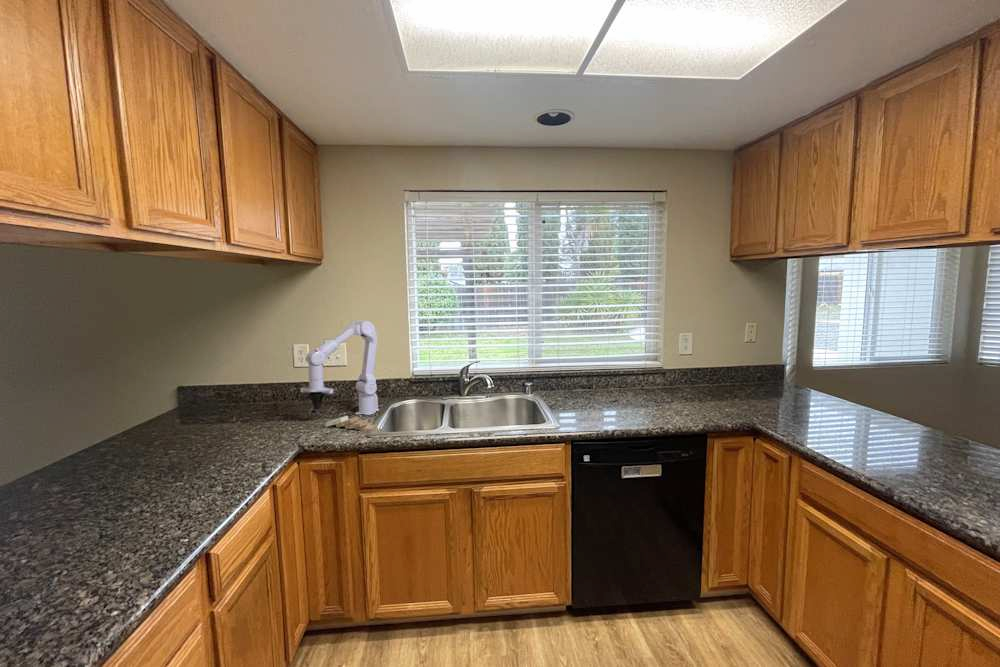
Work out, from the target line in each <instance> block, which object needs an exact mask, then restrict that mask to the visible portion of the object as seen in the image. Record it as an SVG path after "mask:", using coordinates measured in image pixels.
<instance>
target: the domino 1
mask: <svg viewBox="0 0 1000 667" xmlns="http://www.w3.org/2000/svg"><path fill="white" fill-rule="evenodd" d="M347 419H349V416H348V415H345V416H341V417H337V418H334V419H331V420H329V421H327V422H325V423H324V424H325V427H326V428H328V427H331V426H335V425H336V424H338V423H341V422H343V421H345V420H347Z"/></svg>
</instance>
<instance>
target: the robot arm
mask: <svg viewBox="0 0 1000 667" xmlns="http://www.w3.org/2000/svg"><path fill="white" fill-rule="evenodd" d="M375 329H376V326H375V325H374V324H373V323H372V322H371V321H366V320H359V319H357V320H355V321H354V322H353V323H352V322H351V323H350V324H349V325H348V326H347V327H346V328H345V329H344V330H343V331H342V332H340V333H339V334H338V335H337V336H335V337H334V338H333V339H327V340H326V339H325V340H324V341H323V342H322V344H320V345H319V346H318V347H315V348H314V350H311V351H309V352H308V353H307V354H306V357H305V361H306V362H307V364H308V386H309V387H308V386H302V387H301V388H299V389H300V393H309V394H308V395H307V396H308V397H309V399H310V400H311V402H312V404H313V405H312V406H313V408H314V410H316V411H319V410H320V409H321V407H322V402H323V399H324V397H325V395H326V394H329V395H332V394H334V388H330V387H325V386H324V368H323V367H324V366H323V364H324V362H325V361H326V359H327V358H328V357H329V356H331V355H332V354H333V353H335V352H336V351H337V350H338V347H339V346H340V345H341V344H342V343H344V342H345V341H346V340H348V339H349V338H351V337H352V336H360V337H361V338H362V339H363V340H364V342H365V343H364V350H363V351H364V352H363V358H362V368H361V374H360V375H359V376H358V380H357V382H356V383H355V388H356V390H357V391H358V411H356V412H355V415H361V414H365V416H371V414H372V415H373V414H375V413H376V411H377V412H378V411H380V410H379V409H380V408H379V397H378V395H377V393H376V392H377V390H378V388H377V387H378V386H377V379H376V377H375V375H374V374H375V373H374V372H375V366H376V365H375V364H376V356H377V349H378V341H379V340H378V339H379V338H378V335H377V332H376V330H375Z"/></svg>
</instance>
